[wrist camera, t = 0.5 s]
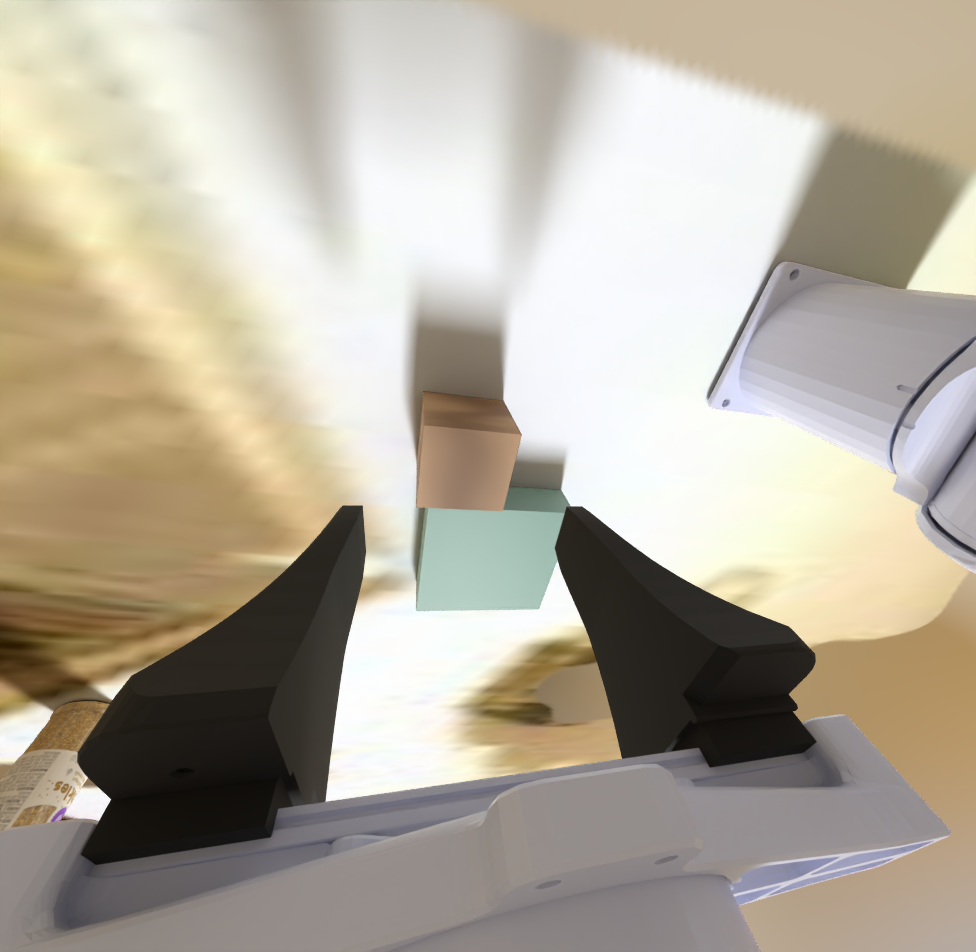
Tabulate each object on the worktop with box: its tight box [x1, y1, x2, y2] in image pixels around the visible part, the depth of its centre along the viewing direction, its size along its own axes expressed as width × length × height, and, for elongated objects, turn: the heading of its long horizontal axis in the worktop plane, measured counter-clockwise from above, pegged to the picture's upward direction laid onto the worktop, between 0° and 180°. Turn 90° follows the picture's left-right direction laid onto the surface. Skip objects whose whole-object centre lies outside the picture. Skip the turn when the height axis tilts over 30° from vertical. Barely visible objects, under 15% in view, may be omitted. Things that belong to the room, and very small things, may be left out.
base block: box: [416, 487, 571, 611], centre depth 25 cm, size 9×9×3 cm
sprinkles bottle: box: [0, 701, 110, 832], centre depth 24 cm, size 5×5×14 cm
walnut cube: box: [416, 391, 522, 511], centre depth 19 cm, size 4×4×4 cm
